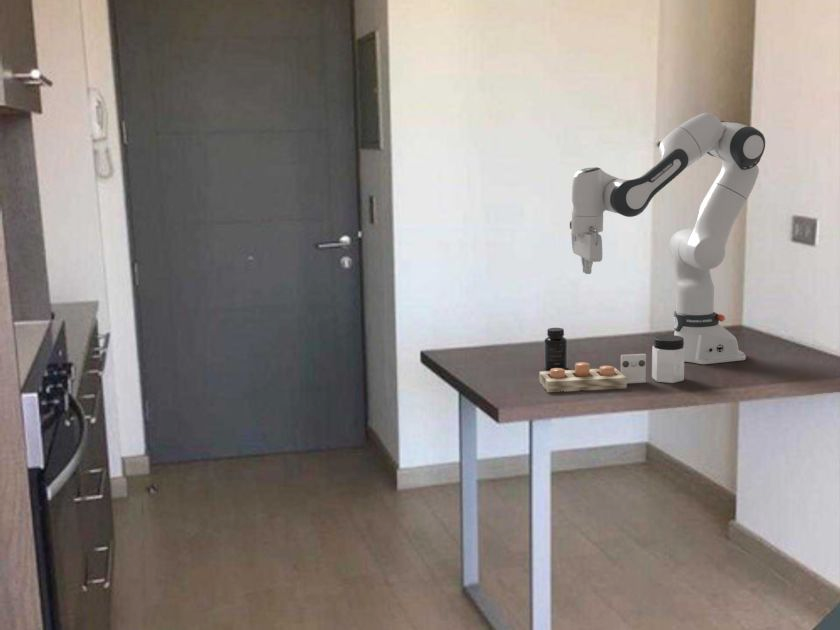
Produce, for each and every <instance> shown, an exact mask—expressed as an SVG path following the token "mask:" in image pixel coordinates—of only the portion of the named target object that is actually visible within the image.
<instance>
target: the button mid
mask: <svg viewBox="0 0 840 630" xmlns="http://www.w3.org/2000/svg"><path fill="white" fill-rule="evenodd" d="M590 369H591V365H590V363H588V362H584V361H581V362H575V363H574V370H575V375H576V376H589V375H590Z"/></svg>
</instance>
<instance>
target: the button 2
mask: <svg viewBox="0 0 840 630" xmlns="http://www.w3.org/2000/svg"><path fill="white" fill-rule="evenodd" d="M614 368H615V366H613V365H601V366H599V369H600V376H612V375H614Z"/></svg>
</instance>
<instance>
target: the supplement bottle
mask: <svg viewBox="0 0 840 630" xmlns="http://www.w3.org/2000/svg"><path fill="white" fill-rule="evenodd" d="M546 332H547V334H546V336H547V337H546V338H545V339H544V341H543V349H544V350H543V351H544V352H543V354H544V355H543V356H544V357H543V358H544V359H543V360H544V361H543V362H544V363H543V365H544V368H545V370H546V371H550V369H553V368H562V369H565V370H567V368H568V340H567V338H566V337H564V336H565V331H564V328H562V327H549V328H547V331H546Z"/></svg>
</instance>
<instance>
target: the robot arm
mask: <svg viewBox="0 0 840 630" xmlns="http://www.w3.org/2000/svg"><path fill="white" fill-rule="evenodd" d="M765 148H766V139H765V136H764V133H762V132H761V131H760V130H759V129H757V128H755V127H753V126H750V125H749V126H748V125H746V124H742V123H739V122H729V121H728V122H727V121H725V120H720V119H719V118H718V117H717V115H715V114H713V113H711V112H703V113H702V112H701V113H700V114H698V115H695V116H693V117H691V118H689V119H688V120H686V121H684V122H682V123H681V124H680V125H679V126H677V127H676V128H674V129H673V130H672V131H671V132H669V133H668V134H667V135H666V136H664V138H663V139H662V140H661V141H660V143H659V148H658V153H659V157H660V159H659V161H658V162H657V163H655V164H654V165H653V166H652V167H650V168H649V169H648V170H647V171H646V172H644V173H643V174H642V175H641V176H639V177H636V178H633V179H623V178H618V177H616V176H613V175H611V174H609V173H607V172H605V171H604V170H602V169H601V167H597V166H596V167H587V168H582V169H580V170H577V171H576V172H575V174H574V176H573V179H572V186H571V187H572V189H571V202H572V206H573V207H572V211H571V221H569V229H570V230H571V232H570V234H571V247H572V252H573V254H575V255H577V256H579V257H580V260H581V261H580V262H581V265H582V273H584V274H585V275H591V274H592V267H593V264H594V263H596V262H598V263H599V262H602V261H603V240H602V239H603V238H602V236H601V234H599V233H601V232H603V231H604V213H605V211H608V212H612V213H614V214H618V215H621V216H624V217H627V218H632V217H636V216H638V215H641V214H642V213H643V212H644V211H646V210H645V209H646V208H647V207H648V206H649V204H650V202H651V201H652V199H653V198H654V196H655V195H657V193H659V192H660V191H661V190H662V189H663V188H665V187H666V186H667V185H668V184H669V183H671V182H672V181H673V180H674V179H675V178H676V177H678V176H679V175H680V174H681V173H682V172H683V171H684V170H685V169H687V168H689V167H690V166H691V165H692V164H695V162H697V161H698V160H699V159H701V158H702V157H704V156H705V155H706V154H708V155H709V156H711V157H716V158H718V159H720V160H721V161H722V166H721V169H720V171H719V173H718V174H717V175H716V178H715V179H714V180H713V183H712V184H711V186H710V187H709V189H708V191H707V192H706V194H705V195H704V198H703V200H702V201H701V203H700V204H699V207H698V208H699V211H698V215H697V219H696V222H695V224H694V226H693V227H692V228H689V227H688V228H683V229H681V230H680V229H679V230H678V231H676V232H675V233H674V234H673V235H672V236H671V238H670V240H669V243H668V245H669V251H670V254H671V258H672V266H673V274H674V278H675V290H676V292H675V311H674V314H673V330H674V334H673V335H676V336H680V337H683V339H684V345H683V348H685V358H684V363H685V362H686V363H694V364H699V365H709V364H712V365H713V364H719V363H730V362H738V361H739V362H740V361H745V360H746V359H747V355H746V354H745V353H744V352H743V351H741V350H739V343H738V340H737V337H736V336H735V335H734V334H733V333H731V332H730V331H729V330H727V329H726V328H725V327H724V326H723V325H721V324H720V322H721V323H723V322H725V320H726V317H725V315H723V314H721V313H717V312H715V311H714V308H715V307H714V305H715V304H714V303H715V298H714V297H715V285H714V282H713V280H712V276H711V271H710V270H714V269H716V268H718V266H720V265H721V264H722V263H723V261H724V259H725V256H726V247H727V243H728V239H729V236H730V233H731V230H732V228H733V226H734V223H735V222H736V219H738V218H737V217H738V216H739V214H740V213H741V210H742V209H743V207H744V206H745V204H746V202H747V201H748V199H749V197H750V195H751V193H752V191H753V189H754V187H755V184H756V182H757V179H758V177H759V176H758V175H759V173H760V172H759V171H760V170H759V166H758V164H759V163H760V161H761V158H762V157H763V155H764V152H765Z"/></svg>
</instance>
